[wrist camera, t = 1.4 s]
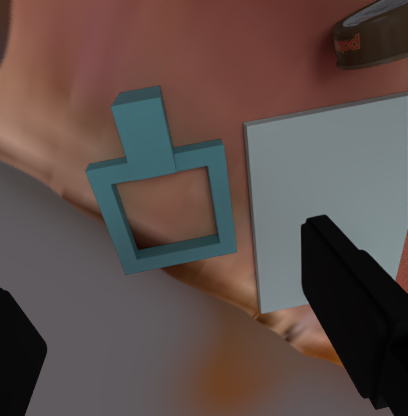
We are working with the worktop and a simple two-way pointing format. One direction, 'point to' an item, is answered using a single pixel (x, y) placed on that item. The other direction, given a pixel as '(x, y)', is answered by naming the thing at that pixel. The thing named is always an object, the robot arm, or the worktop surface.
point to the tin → (372, 35)
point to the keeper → (326, 187)
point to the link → (152, 167)
